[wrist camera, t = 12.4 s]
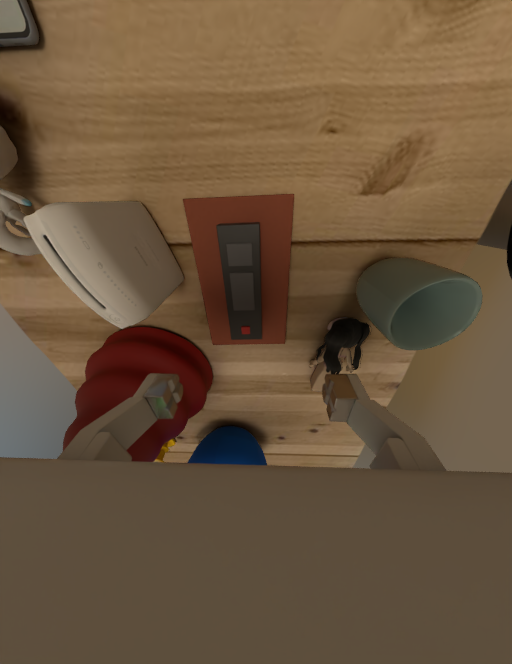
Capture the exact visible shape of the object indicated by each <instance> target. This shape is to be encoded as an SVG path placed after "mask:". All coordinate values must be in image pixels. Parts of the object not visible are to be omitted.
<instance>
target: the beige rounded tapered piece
mask: <svg viewBox="0 0 512 664" xmlns="http://www.w3.org/2000/svg"><path fill="white" fill-rule="evenodd" d="M17 161H18V156H17V152H16V148H15V146H14V145H13V143H12V142H11V140H10V139H9V137H8V136H7V133H6V131H5V130H4V129H3V128H2V127H1V125H0V179H2V178H3V177H4V176H6V175H7V174H8V173H9V172H10V171H11V170H12V169H13V167H14V166H15V165H16V163H17ZM17 202H18V203H20V204H23V205H25V206H32V203H31V202H30V201H29V200H27V199H26V198H24V197H22V196H20V195H17V194H15V193H13V192H10V191H7V190H5V189H2V188H0V248H2V249H4V250H7V251H9V252H12V253H15V254H20V255H35V254H42V253H41V252H40V250H39V248H38V247H37V245H36V244H35V242H34V240H33V239H32V238H25V237H20V236H17V235H15V234H13V233H11V232H10V231H9V230H8V228H7V227H6V224H5V222H6V221H8V222H10V224H11V225H12V226H13V227H15V228H16V229H18V230H19V231H21V232H23V233H24V234H26V235H28V236H31V235H30V233H29V231H28V230H27V229H26V228H27V227H26V224H25V222H24V217H25V216H27V215H26V214H24V213H23V212H21V210H20V207H19V205H18V203H17ZM16 221H19V222H21V223H22V225H23V226H24V227H26V228H24V227H22V226H19V225H15V223H16Z"/></svg>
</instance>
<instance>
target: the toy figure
mask: <svg viewBox="0 0 512 664" xmlns="http://www.w3.org/2000/svg"><path fill="white" fill-rule="evenodd" d="M369 326H370V325H368V324H367V323H365V322H360V321H359V320H357V319H354V318H347V317H342V318H336V319H334V320H333V321H331V322H330V323H329V325H328V330H329V332H328V333H327V334H326V336H325V337H326V338H325V337H324V339H325V343H324V344H323V345H322V346H320V347H319V348H318V349H317V350H318V351H317V357H316V359H315V360H311V361H310V366H309V367H310V368H311V366H313V367H315V366H316V364H318V363H319V364H318V365H317V367H316V369H315V371H314V373H313V375H312V377H311V380H310V384H311V391H317V392H322V387H323V384H324V383H325V379H324V378H325V375H326V374H335V373H336V372H337V373H336V374H339V372H340V371H341V364H342V363H343V361H344V360H345V358H346V359H347V364H348V365H347V366H346V369H347V371H350V373H352V372H353V370H356V369H357V368H358V366H359V360H360V357H361V348H360V346H361V344H362V342H363V341H364V340H365V339H366V338H367V336H368V335H369V332H370V328H369ZM370 327H371V326H370ZM371 328H372V327H371ZM370 334H371V333H370ZM365 341H366V340H365ZM356 344H357V346H356V347H355V353H354V359H353V364H352V357H351V351H350V349H349V348H351V347H353V346H354V345H356ZM362 345H363V344H362ZM325 346H326V348H325V349H324V351H323V352H322V353H321V349H323V348H324V347H325ZM362 352H363V351H362ZM320 353H321V355H320ZM319 355H320V356H319ZM362 355H363V354H362ZM361 359H362V358H361ZM352 365H353V366H354V367H353V366H352ZM360 365H361V361H360ZM342 368H343V366H342ZM353 368H355V369H353Z"/></svg>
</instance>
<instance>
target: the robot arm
mask: <svg viewBox="0 0 512 664" xmlns="http://www.w3.org/2000/svg"><path fill="white" fill-rule="evenodd" d="M179 379H180V378H179V375H178V374H167V373H150V374H149V375H147V377H146V378H145V380H144V381H143V383H142V384H141V386H140V387H139V388H138V390H137V391H136V393H135V394H134V396H133V397H130V398H128V399H127V400H125V401H124V402H122V403H120V404H119V405H117V406H116V407H114V408H113V409H111V410H110V411H108V412H107V413H105V414H104V415H102V416H101V417H99V418H98V419H96V420H95V421H93V422H92V423H90V424H89V425H87V426H86V427H84V428H83V429H81V430H80V431H79V432H78V434H77V435H76V436H75V437H74V439H73V440H72V441H71V442H70V443H69V445H68V446H67V447H66V448H65V450H64V451H63V452H62V453H61V455H60V456H59V457H58V458H57V459H36V458H34V459H33V458H2V457H0V664H512V473H498V472H465V471H464V472H463V471H446V469H445V468H444V466H443V465H442V463H441V462H440V460H439V459H438V457H437V456H436V454H435V453H434V452H433V450H432V448H431V447H430V445H429V444H428V443H427V441H426V440H425V438H424V437H423V436H421V435H420V434H419V433H417V432H416V431H415V430H413V429H412V428H411V427H409V426H408V425H406V424H405V423H404V422H402V421H401V420H400V419H398V418H397V417H396V416H394V415H393V414H392V413H390V412H389V411H388V410H386V409H385V408H384V407H382V406H381V405H380V404H378V403H377V402H376V401H374V400H370V398H369V396H368V394H367V393H366V391H365V389H364V387H363V385H362V383H361V381H360V380H359V378H358V376H357V375H356V374H326V375H325V378H324V379H325V383H324V384H323V387H322V395H323V400H324V402H325V403H326V404H327V409H326V410H327V414H328V417H329V420H330V421H337V422H347V424H348V425H349V426H350V427H351V428H352V429H353V430H354V431H355V432H356V434H357V435H358V436H359V437H360V438H361V439H362V440H363V441H364V442H365V443H366V445H367V446H368V447H369V448H370V449H371V450H372V451H373V452H374V453H375V454H376V457H375V458H374V460H373V461H372V463H371V464H370V468H371V469H365V468H333V467H301V466H268V465H235V464H203V463H169V462H136V461H131V460H132V457H131V455H130V454H129V453H128V452H127V451H126V450H127V449H128V448H129V447H130V446H131V445H132V444H133V443H134V442H135V441H136V440H137V439H138V438H139V437H140V436H141V435H142V434H143V433H144V432H145V431H146V430H147V429H148V428H150V427H151V426H152V425H153V424H154V423H155V422H156V421H157V419H173V417H174V415H175V412H176V410H177V408H178V407H177V403H178V402H179V401H181V398H182V396H183V385H182V383H180V382H179Z"/></svg>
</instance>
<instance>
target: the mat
mask: <svg viewBox="0 0 512 664" xmlns="http://www.w3.org/2000/svg"><path fill="white" fill-rule="evenodd" d="M183 202H184V207H185V212H186V217H187V221H188V226H189V231H190V236H191V241H192V246H193V251H194V255H195V260H196V265H197V270H198V275H199V280H200V285H201V290H202V294H203V299H204V304H205V309H206V314H207V319H208V324H209V328H210V333H211V338H212V343H213V345H230V344H285V336H286V319H287V302H288V286H289V269H290V253H291V236H292V220H293V203H294V194H281V195H260V196H238V197H216V198H194V199H183ZM246 222H260V257H261V306H262V339H251V340H231V334H230V326H229V319H228V311H227V304H226V296H225V288H224V281H223V273H222V266H221V258H220V251H219V243H218V235H217V228H216V225H218V224H220V223H246Z"/></svg>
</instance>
